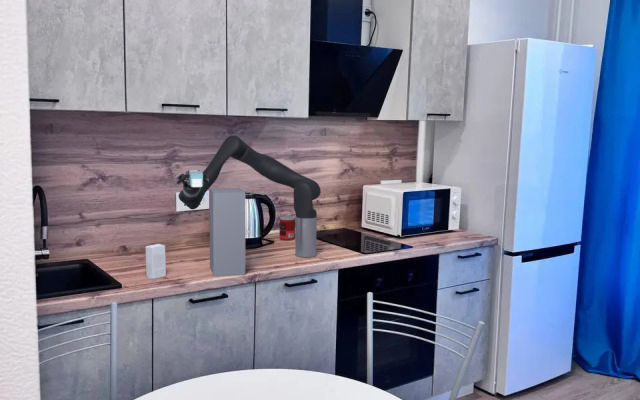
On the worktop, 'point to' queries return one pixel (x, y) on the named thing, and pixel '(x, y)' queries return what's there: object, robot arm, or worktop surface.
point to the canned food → (287, 228)
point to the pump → (196, 178)
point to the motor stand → (227, 231)
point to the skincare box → (155, 261)
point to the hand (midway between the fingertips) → (194, 172)
